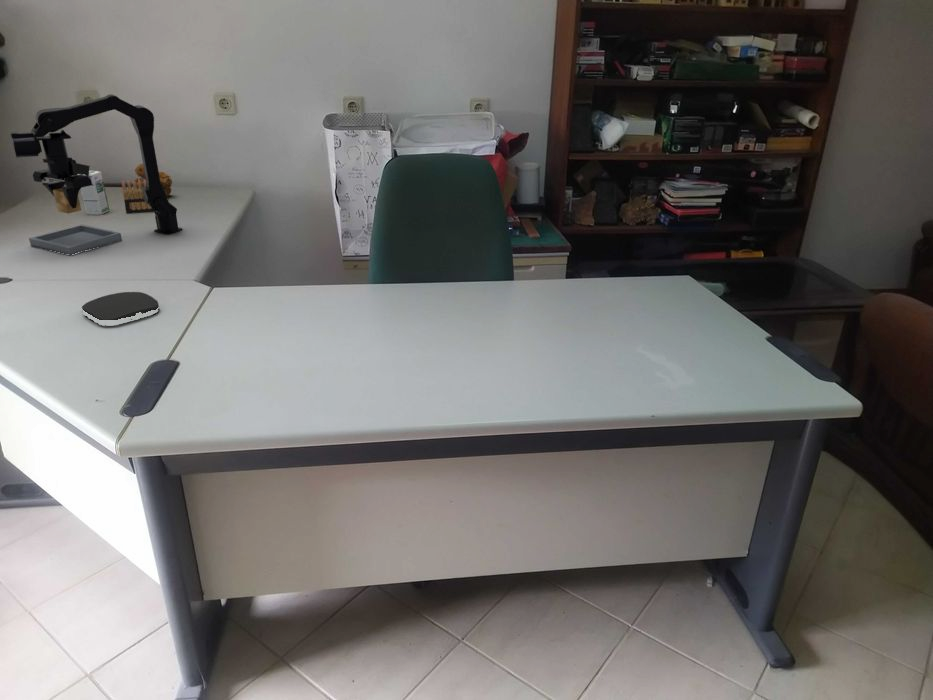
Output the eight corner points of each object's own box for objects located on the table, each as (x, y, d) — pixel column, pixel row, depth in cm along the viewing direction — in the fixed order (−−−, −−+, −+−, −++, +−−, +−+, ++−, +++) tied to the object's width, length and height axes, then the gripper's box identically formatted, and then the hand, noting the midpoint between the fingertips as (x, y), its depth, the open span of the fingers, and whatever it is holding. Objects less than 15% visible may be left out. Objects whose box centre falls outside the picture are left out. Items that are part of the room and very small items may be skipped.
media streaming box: (137, 297, 171) (134, 286, 170) (165, 313, 163) (163, 302, 162) (78, 313, 161) (75, 302, 159) (105, 331, 153) (103, 319, 151)
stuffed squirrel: (137, 194, 262) (131, 161, 256) (175, 193, 267) (170, 160, 261) (135, 201, 254) (128, 166, 248) (174, 199, 258) (168, 165, 252)
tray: (122, 240, 211) (120, 232, 210) (70, 255, 196) (68, 247, 195) (83, 231, 217) (81, 224, 216) (30, 246, 203) (28, 238, 201)
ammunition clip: (126, 213, 238) (119, 180, 233) (126, 212, 240) (119, 179, 234) (158, 211, 242) (152, 178, 237) (158, 210, 243) (152, 177, 238)
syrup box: (102, 215, 235) (93, 174, 229) (85, 214, 235) (76, 173, 229) (110, 210, 240) (101, 170, 234) (94, 210, 240) (85, 170, 234)
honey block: (81, 210, 203) (76, 189, 200) (68, 213, 199) (62, 192, 196) (71, 208, 205) (66, 187, 202) (58, 211, 201) (52, 190, 198)
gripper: (102, 154, 198) (113, 205, 205) (60, 147, 204) (72, 197, 211) (68, 160, 189) (80, 213, 196) (25, 152, 195) (39, 204, 202)
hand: (69, 206), depth 201 cm, fingers closed on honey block, 4 cm apart
